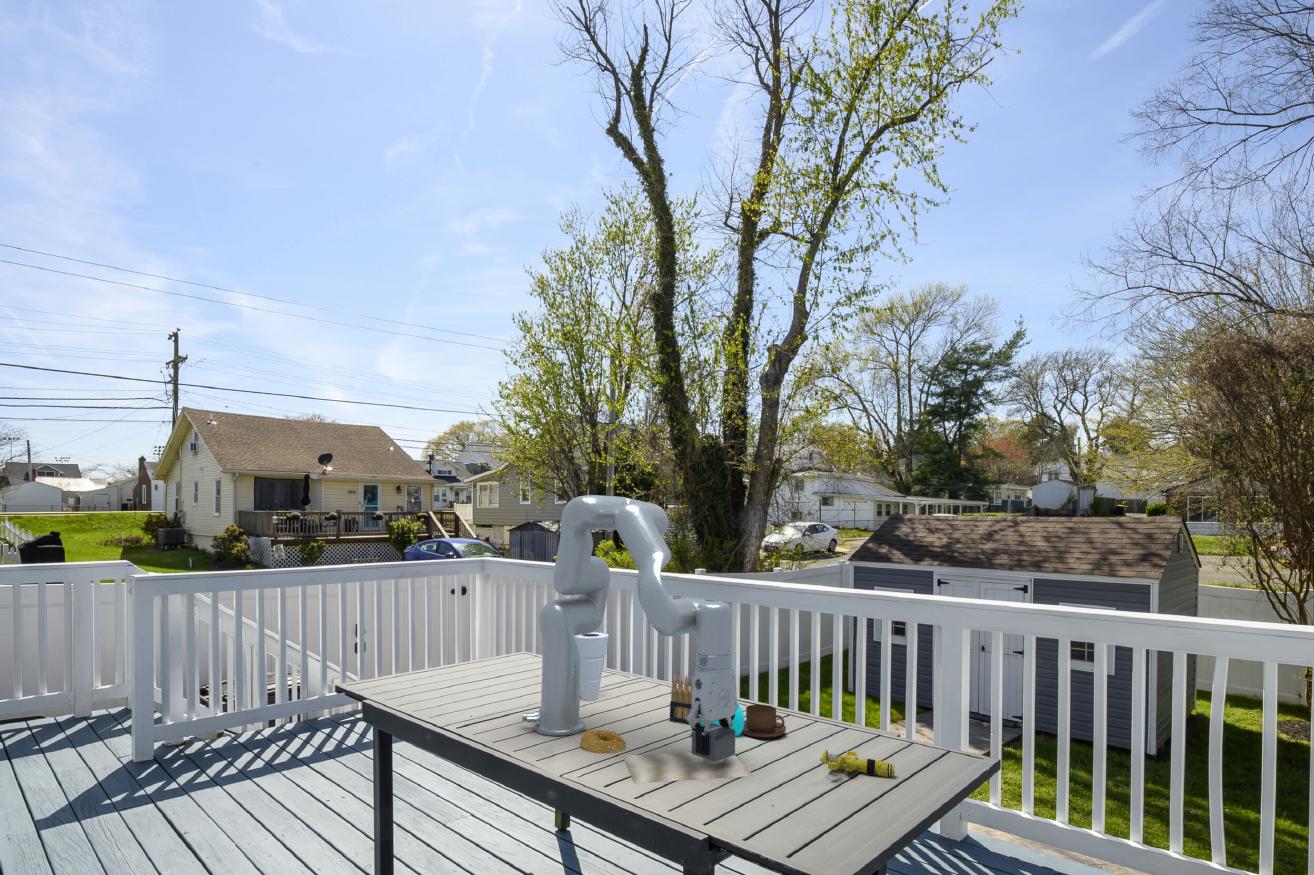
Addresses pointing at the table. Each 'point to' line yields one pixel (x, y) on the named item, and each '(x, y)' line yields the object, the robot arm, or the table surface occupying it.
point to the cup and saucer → (762, 722)
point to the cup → (591, 663)
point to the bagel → (602, 741)
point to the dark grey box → (717, 742)
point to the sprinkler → (858, 764)
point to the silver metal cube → (713, 762)
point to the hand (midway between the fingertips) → (713, 749)
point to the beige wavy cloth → (680, 767)
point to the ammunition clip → (680, 700)
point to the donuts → (734, 721)
